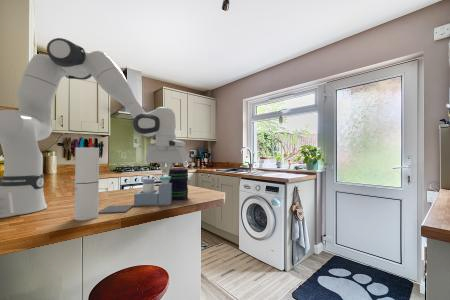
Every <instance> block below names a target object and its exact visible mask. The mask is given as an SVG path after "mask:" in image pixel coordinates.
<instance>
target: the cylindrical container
mask: <svg viewBox="0 0 450 300" xmlns="http://www.w3.org/2000/svg"><path fill="white" fill-rule="evenodd" d="M74 149H75V154H74V155H75V157H74V158H75V159H74V163H75V164H74V218H73V219H74V221H89V220H93V219H96V218H97V217H99V214H98V212H99V195H100V192H99V189H100V188H99V186H100V184H99V183H100V181H99V180H100V147H85V146H82V147H75V148H74Z"/></svg>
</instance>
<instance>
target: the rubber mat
mask: <svg viewBox="0 0 450 300" xmlns="http://www.w3.org/2000/svg"><path fill="white" fill-rule="evenodd" d="M133 207H134V204H127V205H125V204H121V205H120V204H119V205H107V206H106V207H104V208H103V209H101V210H100V211H99V210H98V215H100V214H103V215H104V214H126V213H128V211H130V210H131V209H132V208H133Z"/></svg>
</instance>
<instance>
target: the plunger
mask: <svg viewBox="0 0 450 300" xmlns="http://www.w3.org/2000/svg"><path fill="white" fill-rule="evenodd" d="M170 179H171V176H168V175H166V176H164V175H163V176H160V177H159V181H161V183H162V185H163V184H169V180H170Z"/></svg>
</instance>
